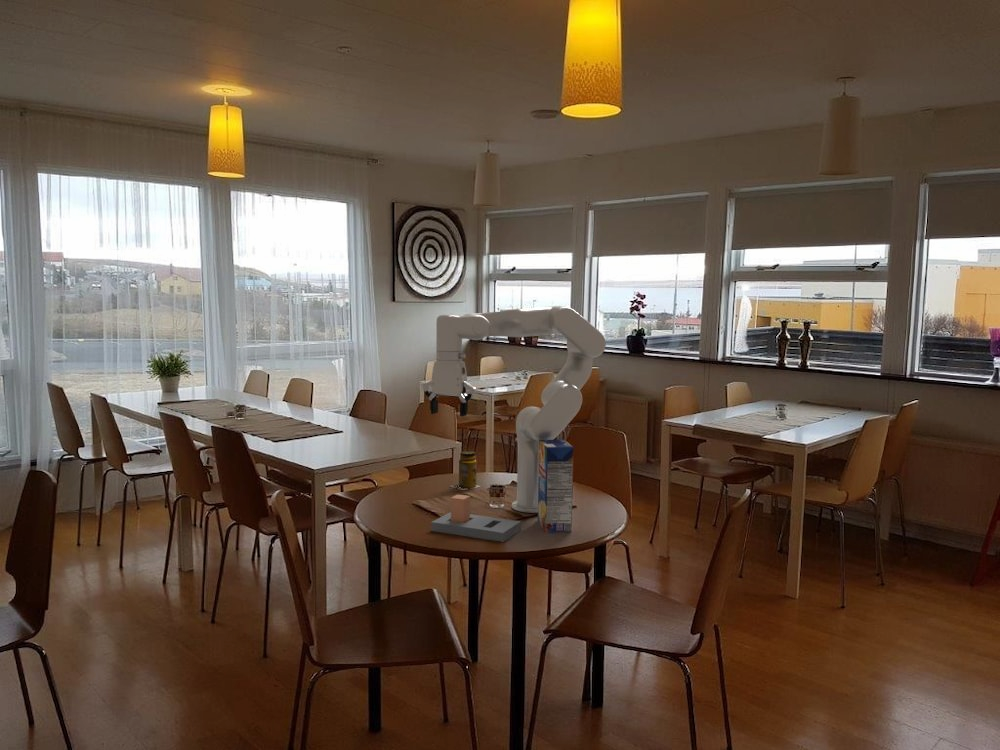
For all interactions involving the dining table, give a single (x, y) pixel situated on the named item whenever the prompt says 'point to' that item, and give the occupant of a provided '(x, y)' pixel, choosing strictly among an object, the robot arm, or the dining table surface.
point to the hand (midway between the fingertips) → (448, 414)
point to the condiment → (467, 471)
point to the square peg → (460, 508)
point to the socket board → (478, 527)
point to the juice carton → (555, 485)
